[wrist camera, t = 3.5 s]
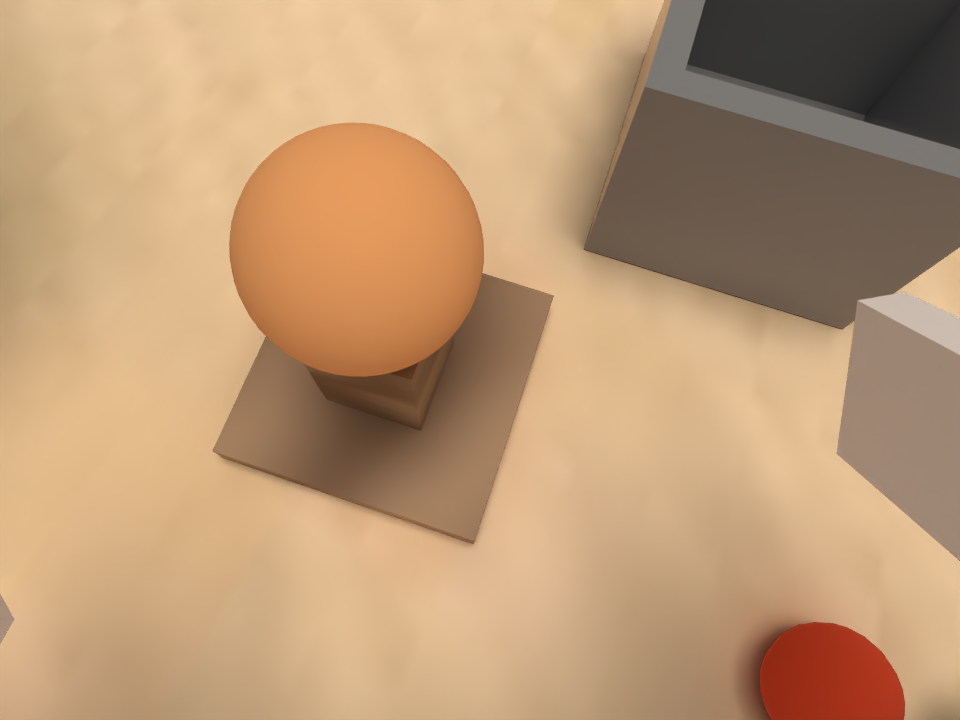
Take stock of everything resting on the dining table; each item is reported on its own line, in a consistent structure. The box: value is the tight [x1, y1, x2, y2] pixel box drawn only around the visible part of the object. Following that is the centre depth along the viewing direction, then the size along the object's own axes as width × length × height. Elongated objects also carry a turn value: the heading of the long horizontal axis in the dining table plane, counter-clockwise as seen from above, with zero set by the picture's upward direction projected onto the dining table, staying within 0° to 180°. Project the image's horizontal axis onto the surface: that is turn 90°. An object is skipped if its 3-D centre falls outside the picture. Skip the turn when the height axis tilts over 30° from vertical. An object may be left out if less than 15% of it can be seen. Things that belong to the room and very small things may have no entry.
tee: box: [213, 273, 554, 544], centre depth 19 cm, size 8×8×6 cm
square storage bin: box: [584, 0, 960, 329], centre depth 21 cm, size 9×9×8 cm
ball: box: [229, 123, 484, 377], centre depth 14 cm, size 5×5×5 cm
